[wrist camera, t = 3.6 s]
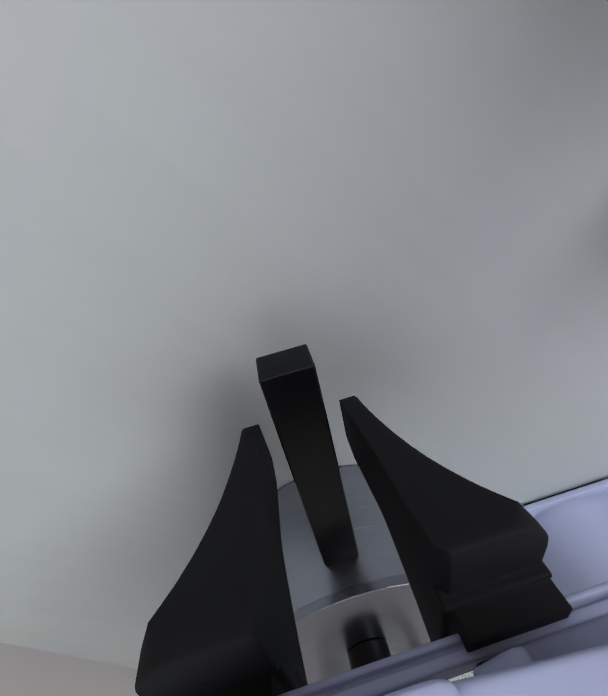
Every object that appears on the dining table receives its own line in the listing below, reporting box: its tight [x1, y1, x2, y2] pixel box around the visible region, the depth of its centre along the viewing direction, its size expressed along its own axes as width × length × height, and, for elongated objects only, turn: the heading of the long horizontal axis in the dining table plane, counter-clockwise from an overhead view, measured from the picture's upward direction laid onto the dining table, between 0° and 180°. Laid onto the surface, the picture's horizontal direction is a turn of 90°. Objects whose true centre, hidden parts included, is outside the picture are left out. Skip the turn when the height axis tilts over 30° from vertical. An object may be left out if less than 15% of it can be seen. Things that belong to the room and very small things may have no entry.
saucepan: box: [256, 344, 431, 685], centre depth 16 cm, size 12×22×8 cm, turn 12°
